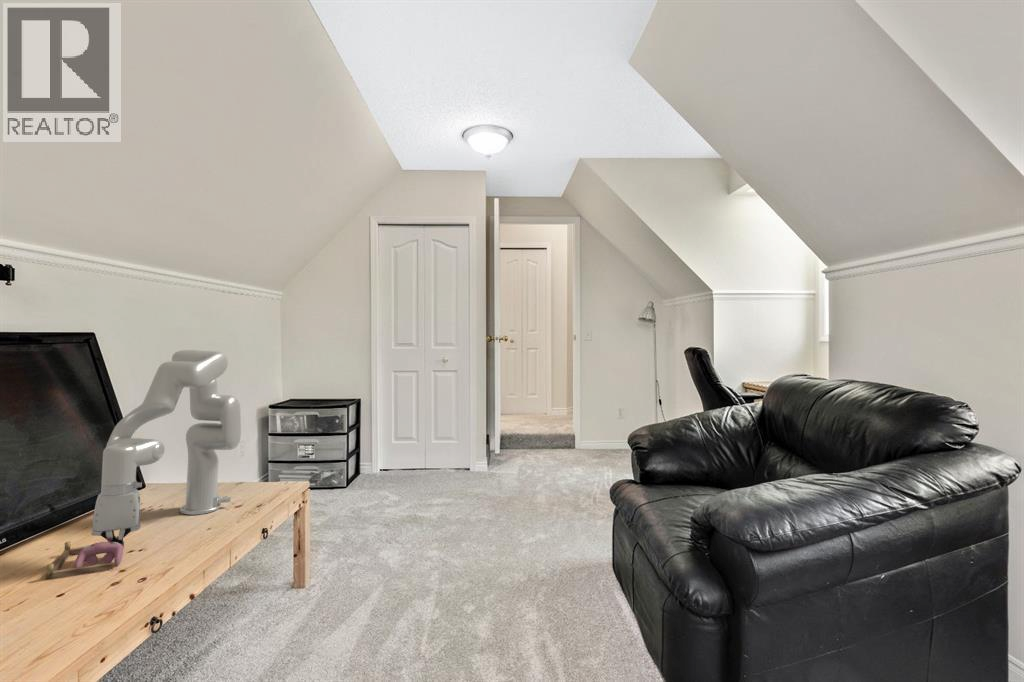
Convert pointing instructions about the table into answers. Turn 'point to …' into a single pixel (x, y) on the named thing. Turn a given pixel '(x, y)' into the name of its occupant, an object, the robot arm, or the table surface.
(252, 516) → the table surface
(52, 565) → the frame
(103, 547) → the video game controller
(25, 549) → the table surface
